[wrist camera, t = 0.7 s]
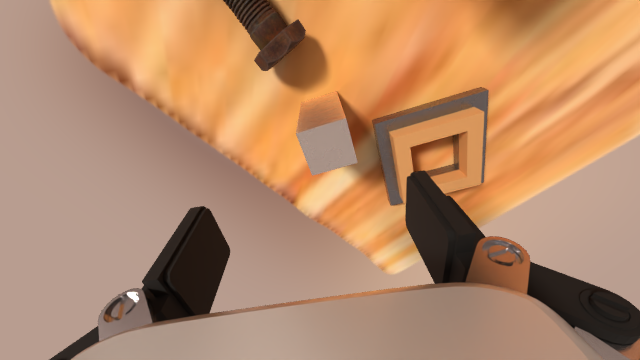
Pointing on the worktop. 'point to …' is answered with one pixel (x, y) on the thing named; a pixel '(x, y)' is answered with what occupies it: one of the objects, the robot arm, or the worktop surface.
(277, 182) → the worktop surface
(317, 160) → the block
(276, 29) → the bolt
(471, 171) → the square socket base
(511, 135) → the worktop surface
